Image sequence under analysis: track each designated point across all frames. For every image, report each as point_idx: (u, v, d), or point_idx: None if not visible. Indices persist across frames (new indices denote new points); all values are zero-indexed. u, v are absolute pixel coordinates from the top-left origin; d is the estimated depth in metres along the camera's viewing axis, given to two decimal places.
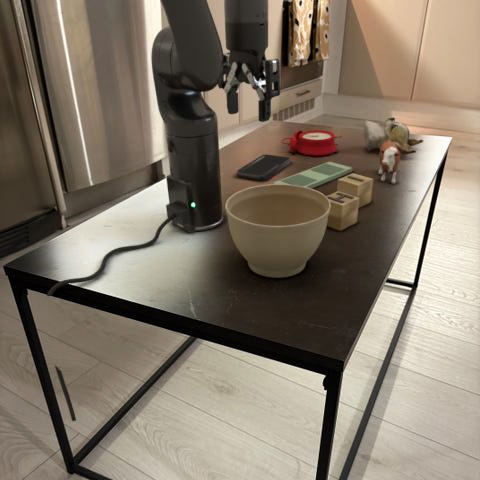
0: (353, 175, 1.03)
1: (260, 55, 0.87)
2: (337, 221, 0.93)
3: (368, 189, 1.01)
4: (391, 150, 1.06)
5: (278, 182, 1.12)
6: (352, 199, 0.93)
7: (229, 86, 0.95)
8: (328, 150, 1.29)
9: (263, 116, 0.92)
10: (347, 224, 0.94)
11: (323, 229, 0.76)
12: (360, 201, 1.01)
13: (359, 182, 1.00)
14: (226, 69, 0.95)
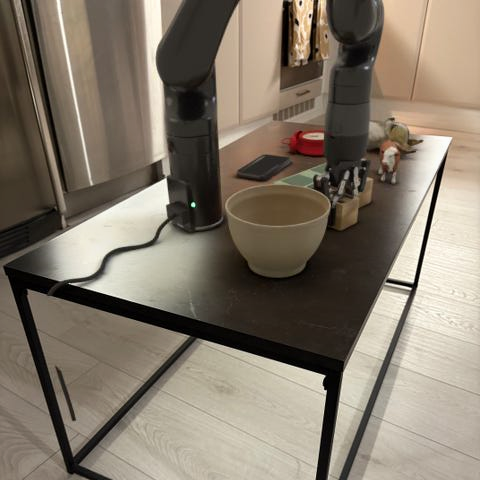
0: None
1: (328, 164, 0.87)
2: (337, 221, 0.93)
3: (368, 189, 1.01)
4: (391, 150, 1.06)
5: (278, 182, 1.12)
6: (352, 199, 0.93)
7: None
8: None
9: None
10: (347, 224, 0.94)
11: (323, 229, 0.76)
12: (360, 201, 1.01)
13: (359, 182, 1.00)
14: (358, 173, 0.94)
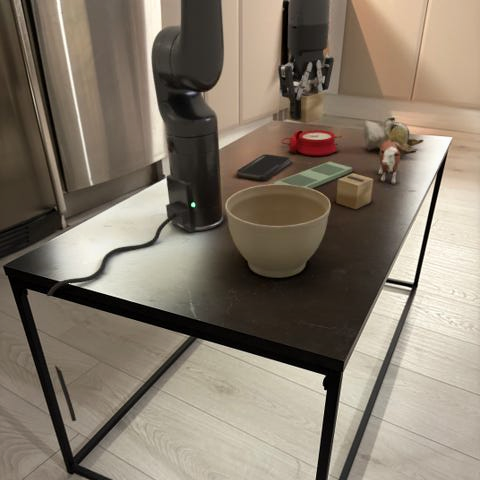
0: (353, 175, 1.03)
1: (292, 55, 0.95)
2: (303, 114, 1.00)
3: (368, 189, 1.01)
4: (391, 150, 1.06)
5: (278, 182, 1.12)
6: (316, 93, 1.00)
7: None
8: (328, 150, 1.29)
9: None
10: (312, 118, 1.02)
11: (323, 229, 0.76)
12: (360, 201, 1.01)
13: (359, 182, 1.00)
14: (323, 71, 1.02)
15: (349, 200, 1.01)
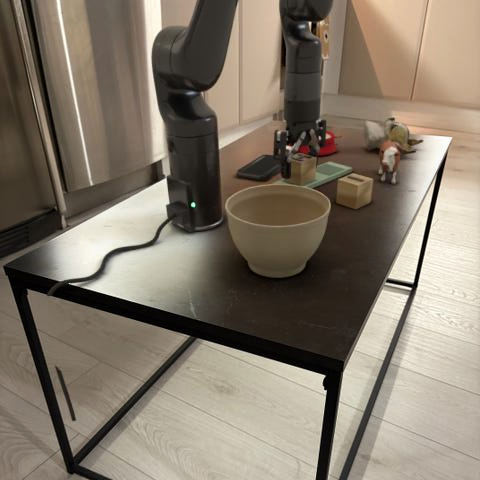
0: (353, 175, 1.03)
1: (287, 125, 1.04)
2: (297, 177, 1.09)
3: (368, 189, 1.01)
4: (391, 150, 1.06)
5: (278, 182, 1.12)
6: (310, 158, 1.09)
7: None
8: (328, 150, 1.29)
9: None
10: (306, 180, 1.11)
11: (323, 229, 0.76)
12: (360, 201, 1.01)
13: (359, 182, 1.00)
14: (318, 132, 1.10)
15: (349, 200, 1.01)
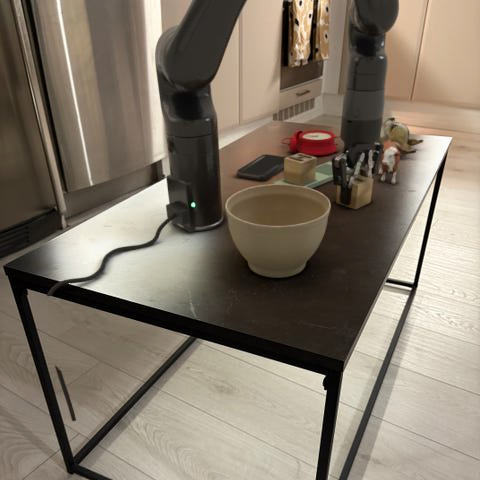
0: None
1: (345, 146, 0.95)
2: (297, 177, 1.09)
3: (368, 189, 1.01)
4: (391, 150, 1.06)
5: (278, 182, 1.12)
6: (310, 158, 1.09)
7: None
8: (328, 150, 1.29)
9: None
10: (306, 180, 1.11)
11: (323, 229, 0.76)
12: (360, 201, 1.01)
13: (359, 182, 1.00)
14: (372, 156, 1.02)
15: None
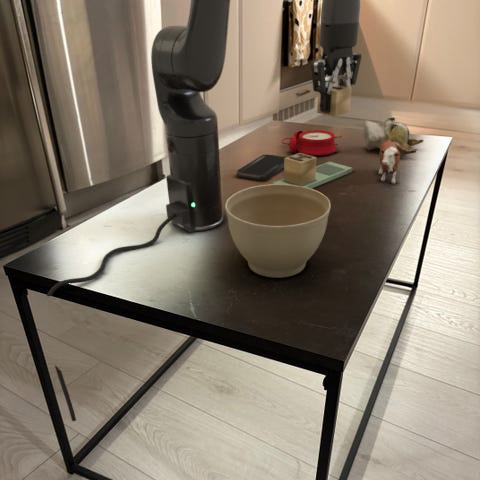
0: (333, 85, 1.09)
1: (324, 52, 1.01)
2: (297, 177, 1.09)
3: (346, 97, 1.07)
4: (391, 150, 1.06)
5: (278, 182, 1.12)
6: (310, 158, 1.09)
7: None
8: (328, 150, 1.29)
9: None
10: (306, 180, 1.11)
11: (323, 229, 0.76)
12: (339, 109, 1.07)
13: (338, 89, 1.06)
14: (350, 67, 1.08)
15: None
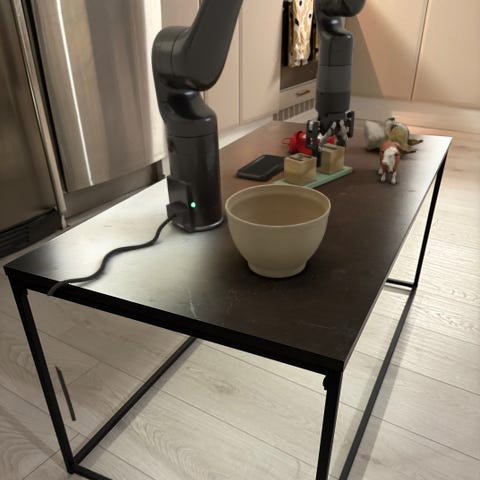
0: (328, 144, 1.17)
1: (319, 116, 1.09)
2: (297, 177, 1.09)
3: (340, 156, 1.15)
4: (391, 150, 1.06)
5: (278, 182, 1.12)
6: (310, 158, 1.09)
7: None
8: None
9: None
10: (306, 180, 1.11)
11: (323, 229, 0.76)
12: (333, 167, 1.15)
13: (332, 150, 1.14)
14: (346, 123, 1.16)
15: (324, 166, 1.15)
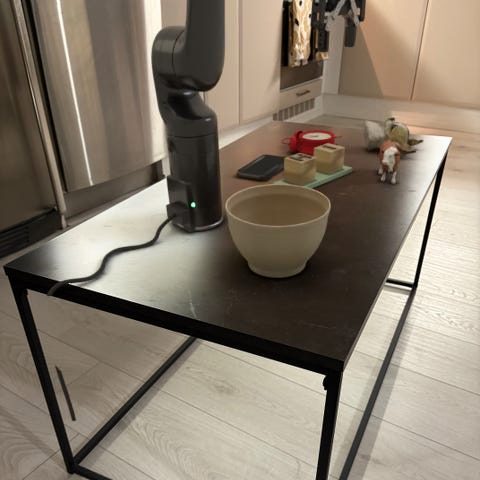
0: (328, 144, 1.17)
1: None
2: (297, 177, 1.09)
3: (340, 156, 1.15)
4: (391, 150, 1.06)
5: (278, 182, 1.12)
6: (310, 158, 1.09)
7: None
8: None
9: None
10: (306, 180, 1.11)
11: (323, 229, 0.76)
12: (333, 167, 1.15)
13: (332, 150, 1.14)
14: (357, 3, 1.02)
15: (324, 166, 1.15)
